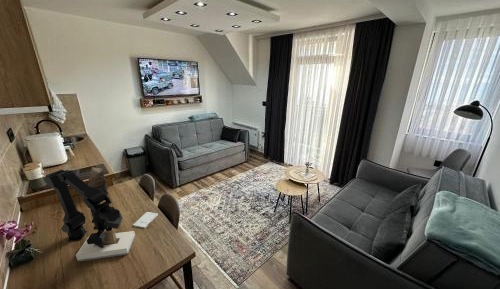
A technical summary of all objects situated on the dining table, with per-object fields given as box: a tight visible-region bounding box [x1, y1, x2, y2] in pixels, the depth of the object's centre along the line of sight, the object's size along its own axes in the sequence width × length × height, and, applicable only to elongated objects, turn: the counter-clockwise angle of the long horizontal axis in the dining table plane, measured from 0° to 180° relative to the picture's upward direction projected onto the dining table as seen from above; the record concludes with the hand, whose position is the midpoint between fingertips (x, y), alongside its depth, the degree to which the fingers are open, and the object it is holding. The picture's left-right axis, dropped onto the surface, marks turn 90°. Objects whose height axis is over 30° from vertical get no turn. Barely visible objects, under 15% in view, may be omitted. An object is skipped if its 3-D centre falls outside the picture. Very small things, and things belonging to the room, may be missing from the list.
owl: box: [87, 166, 109, 196], centre depth 150 cm, size 13×13×20 cm
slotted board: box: [75, 230, 136, 262], centre depth 106 cm, size 22×12×4 cm, turn 102°
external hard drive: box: [132, 211, 158, 229], centre depth 127 cm, size 2×8×12 cm
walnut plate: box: [103, 229, 117, 245], centre depth 105 cm, size 8×2×9 cm, turn 102°
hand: (106, 240), depth 105 cm, fingers open, 9 cm apart
